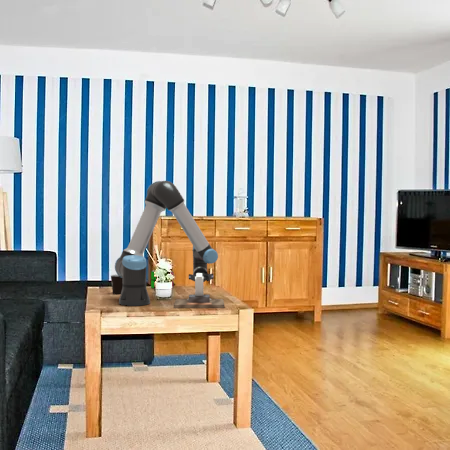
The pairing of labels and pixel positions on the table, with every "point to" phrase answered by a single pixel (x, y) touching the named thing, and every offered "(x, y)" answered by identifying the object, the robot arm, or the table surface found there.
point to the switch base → (214, 304)
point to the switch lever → (198, 284)
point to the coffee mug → (117, 284)
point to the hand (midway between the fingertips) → (201, 280)
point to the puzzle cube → (155, 279)
